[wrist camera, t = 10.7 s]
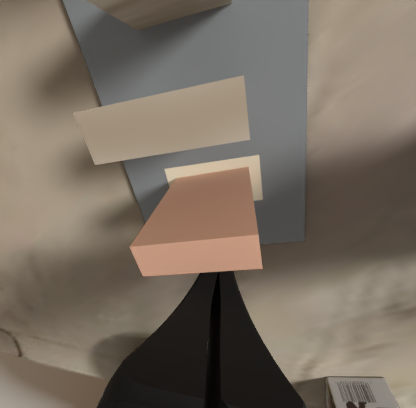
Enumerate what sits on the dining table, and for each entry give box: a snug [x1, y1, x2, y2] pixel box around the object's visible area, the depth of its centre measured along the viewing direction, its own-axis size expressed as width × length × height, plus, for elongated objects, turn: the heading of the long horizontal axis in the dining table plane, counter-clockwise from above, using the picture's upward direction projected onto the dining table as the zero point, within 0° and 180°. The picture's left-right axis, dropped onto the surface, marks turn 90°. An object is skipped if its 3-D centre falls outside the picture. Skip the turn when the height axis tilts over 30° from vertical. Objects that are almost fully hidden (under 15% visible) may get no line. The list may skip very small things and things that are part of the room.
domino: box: [73, 75, 250, 165], centre depth 10 cm, size 2×5×8 cm, turn 101°
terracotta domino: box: [130, 167, 263, 277], centre depth 12 cm, size 2×5×8 cm, turn 101°
